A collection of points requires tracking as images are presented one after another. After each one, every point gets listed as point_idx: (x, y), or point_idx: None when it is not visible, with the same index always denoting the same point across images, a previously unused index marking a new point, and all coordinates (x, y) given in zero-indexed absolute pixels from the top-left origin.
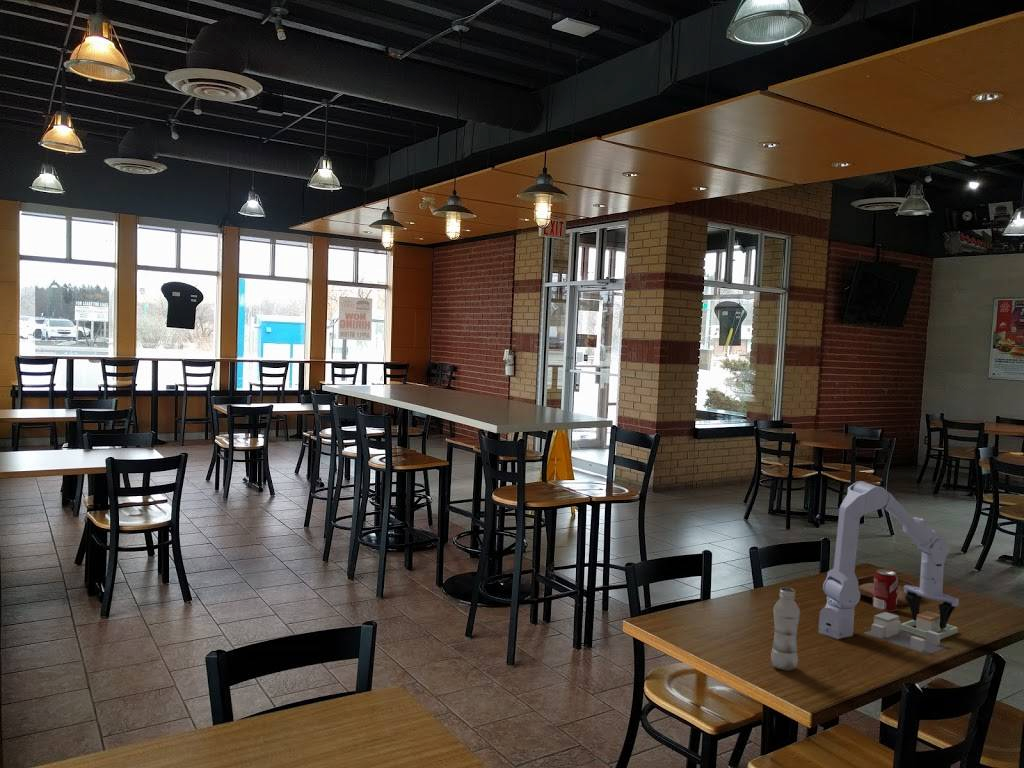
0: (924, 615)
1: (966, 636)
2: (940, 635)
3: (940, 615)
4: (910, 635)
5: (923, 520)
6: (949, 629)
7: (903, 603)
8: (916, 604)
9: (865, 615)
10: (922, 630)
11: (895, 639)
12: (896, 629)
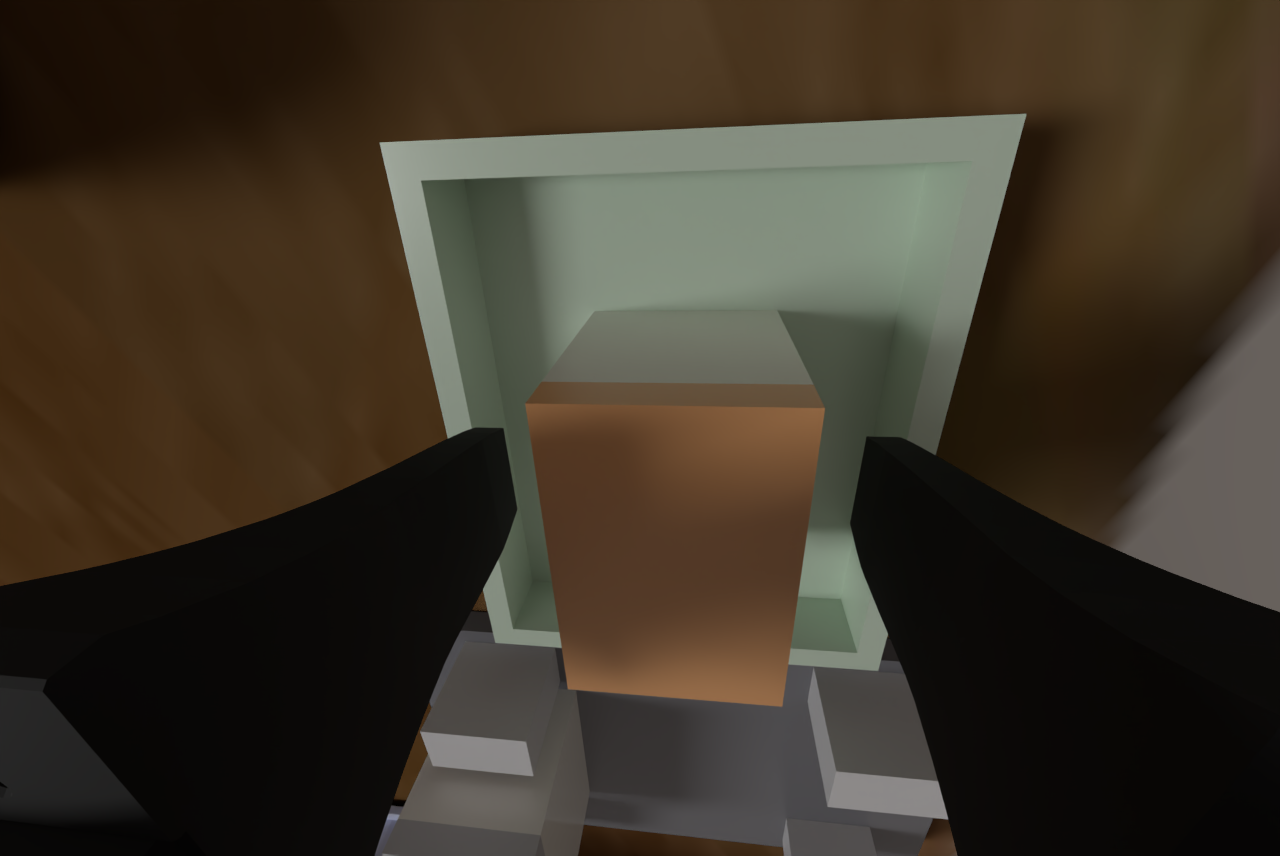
0: (644, 645)
1: (1092, 11)
2: None
3: (934, 736)
4: None
5: None
6: (934, 364)
7: None
8: (387, 664)
9: (93, 447)
10: None
11: (641, 785)
12: (569, 750)
